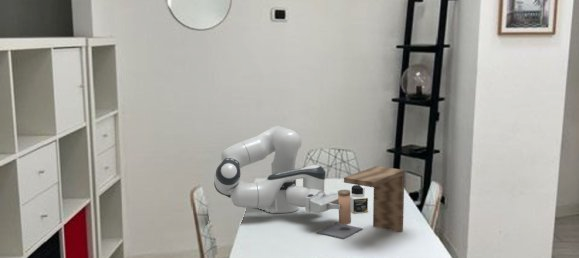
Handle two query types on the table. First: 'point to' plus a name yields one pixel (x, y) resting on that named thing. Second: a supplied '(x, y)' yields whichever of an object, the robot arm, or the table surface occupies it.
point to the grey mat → (339, 230)
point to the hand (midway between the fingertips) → (344, 205)
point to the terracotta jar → (344, 207)
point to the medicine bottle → (358, 199)
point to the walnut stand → (384, 195)
